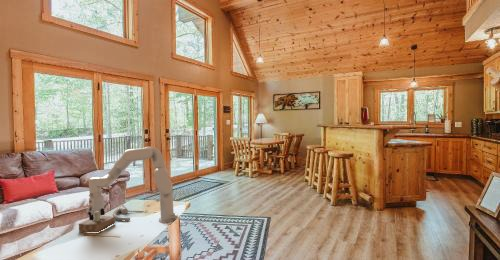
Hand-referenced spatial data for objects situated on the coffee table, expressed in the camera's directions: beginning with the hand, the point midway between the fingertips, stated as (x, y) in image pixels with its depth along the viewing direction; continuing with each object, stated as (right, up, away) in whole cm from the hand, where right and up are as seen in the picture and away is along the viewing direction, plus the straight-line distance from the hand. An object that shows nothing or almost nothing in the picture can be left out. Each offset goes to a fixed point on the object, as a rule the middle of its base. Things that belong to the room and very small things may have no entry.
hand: (97, 217), depth 187 cm
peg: (0, -8, 0) cm, 8 cm away
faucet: (+12, -7, +25) cm, 29 cm away
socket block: (0, -8, 0) cm, 8 cm away
